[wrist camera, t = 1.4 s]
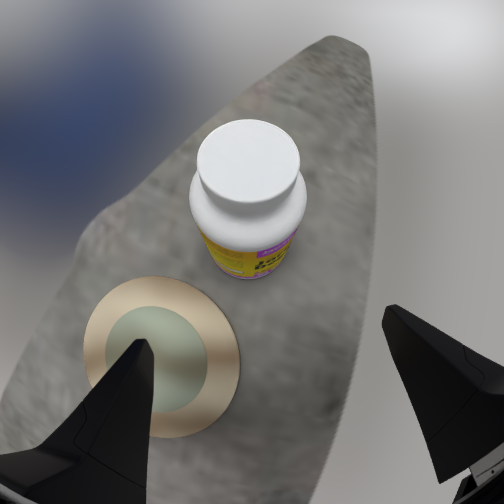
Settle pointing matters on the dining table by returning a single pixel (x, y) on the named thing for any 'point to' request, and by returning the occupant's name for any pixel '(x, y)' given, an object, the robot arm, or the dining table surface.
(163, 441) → the dining table surface
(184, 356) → the round tan coaster
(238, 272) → the supplement bottle
